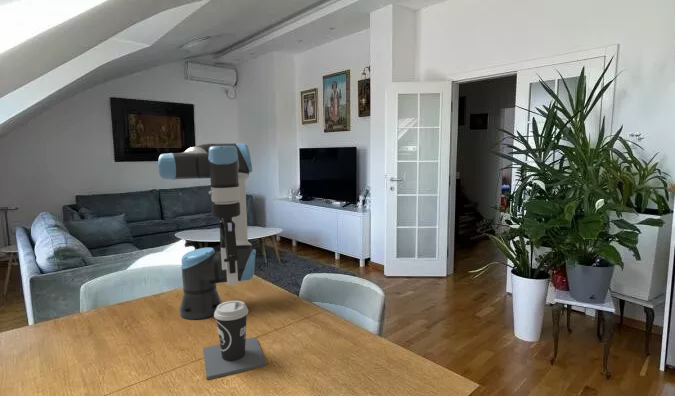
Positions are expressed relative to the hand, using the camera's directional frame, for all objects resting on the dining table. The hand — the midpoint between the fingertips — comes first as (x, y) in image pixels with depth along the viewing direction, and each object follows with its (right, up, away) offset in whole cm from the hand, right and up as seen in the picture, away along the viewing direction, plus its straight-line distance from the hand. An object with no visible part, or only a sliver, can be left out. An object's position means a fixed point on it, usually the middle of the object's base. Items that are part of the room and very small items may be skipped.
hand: (229, 276), depth 106 cm
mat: (0, -25, +3) cm, 25 cm away
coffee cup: (0, -24, +3) cm, 24 cm away
